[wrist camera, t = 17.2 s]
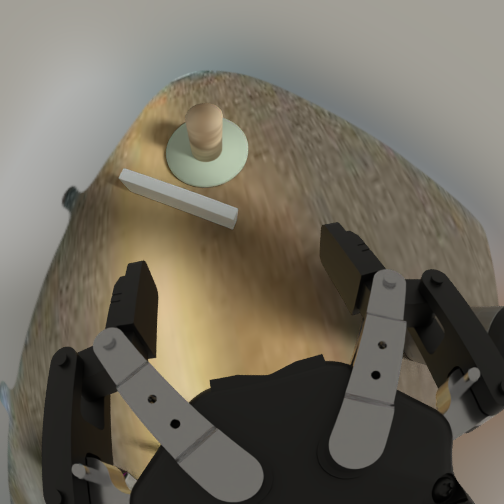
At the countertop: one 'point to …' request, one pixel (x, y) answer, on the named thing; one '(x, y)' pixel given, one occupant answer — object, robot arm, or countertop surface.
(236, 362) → the countertop surface
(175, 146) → the sage mat
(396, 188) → the countertop surface
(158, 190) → the frosted wall
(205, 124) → the beech cylinder
